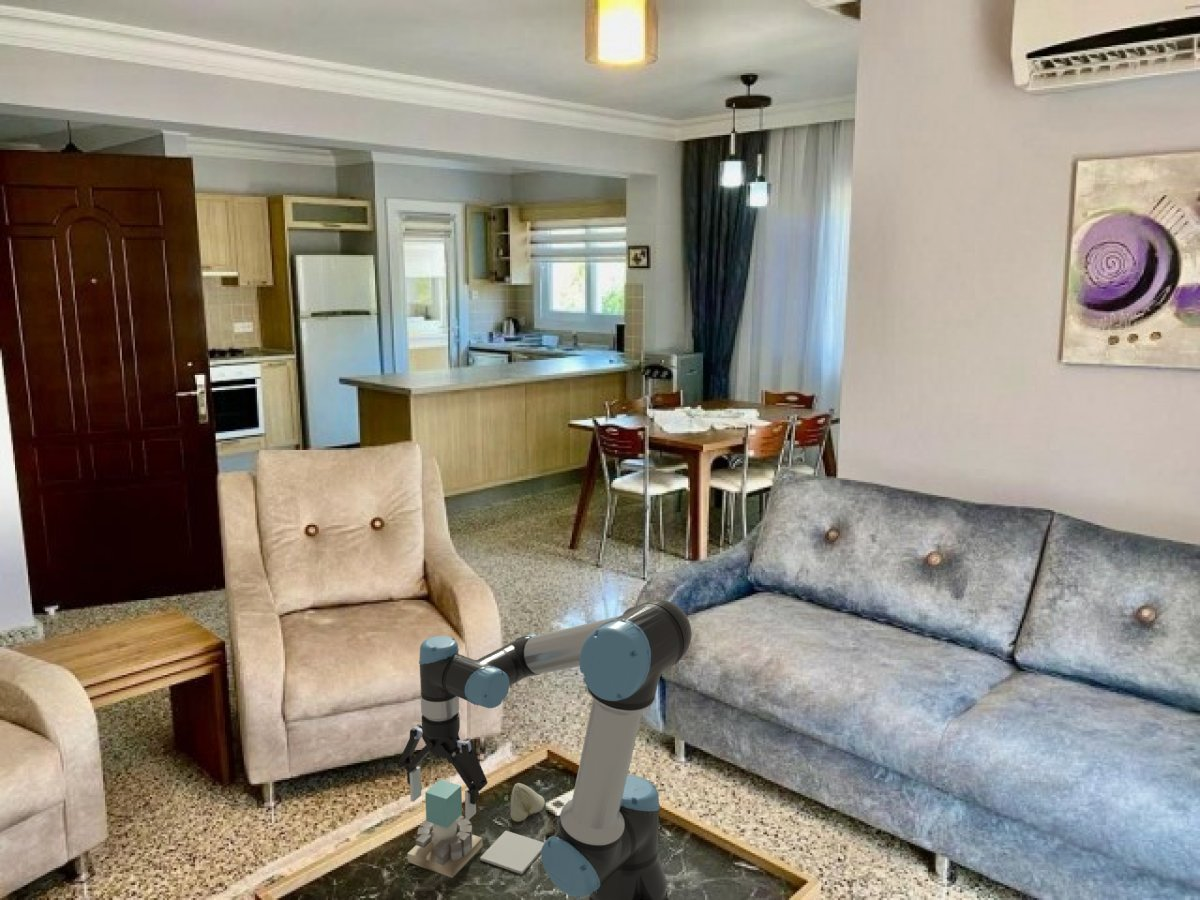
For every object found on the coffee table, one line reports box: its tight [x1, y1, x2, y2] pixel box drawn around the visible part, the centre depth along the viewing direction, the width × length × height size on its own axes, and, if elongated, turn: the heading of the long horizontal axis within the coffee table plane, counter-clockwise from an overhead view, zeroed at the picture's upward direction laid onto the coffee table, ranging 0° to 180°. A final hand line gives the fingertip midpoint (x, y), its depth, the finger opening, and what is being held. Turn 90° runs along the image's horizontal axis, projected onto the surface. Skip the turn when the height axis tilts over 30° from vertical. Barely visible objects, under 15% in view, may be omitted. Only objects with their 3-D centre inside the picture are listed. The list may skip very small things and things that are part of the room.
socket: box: [406, 815, 483, 879], centre depth 189 cm, size 11×11×6 cm
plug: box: [424, 779, 463, 849], centre depth 188 cm, size 7×5×13 cm
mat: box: [479, 830, 545, 875], centre depth 190 cm, size 10×10×1 cm
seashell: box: [509, 782, 546, 823], centre depth 203 cm, size 8×8×8 cm
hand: (443, 807), depth 188 cm, fingers open, 13 cm apart
